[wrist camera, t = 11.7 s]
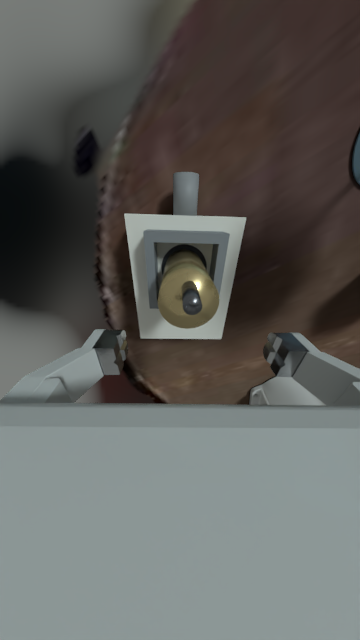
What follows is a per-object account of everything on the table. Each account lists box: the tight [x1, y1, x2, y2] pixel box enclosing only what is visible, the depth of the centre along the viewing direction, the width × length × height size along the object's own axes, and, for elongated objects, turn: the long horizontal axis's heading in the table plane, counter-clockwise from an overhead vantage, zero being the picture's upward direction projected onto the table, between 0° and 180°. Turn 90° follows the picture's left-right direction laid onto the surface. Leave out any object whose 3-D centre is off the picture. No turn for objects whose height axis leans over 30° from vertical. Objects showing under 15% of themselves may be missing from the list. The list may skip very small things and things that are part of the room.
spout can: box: [158, 249, 219, 329], centre depth 16 cm, size 5×5×13 cm
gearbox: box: [124, 172, 246, 339], centre depth 24 cm, size 22×14×9 cm, turn 179°
